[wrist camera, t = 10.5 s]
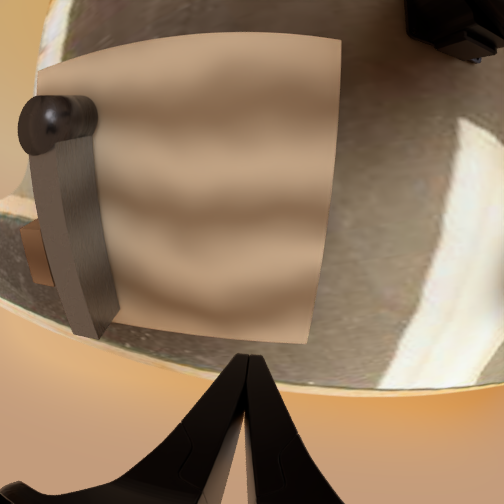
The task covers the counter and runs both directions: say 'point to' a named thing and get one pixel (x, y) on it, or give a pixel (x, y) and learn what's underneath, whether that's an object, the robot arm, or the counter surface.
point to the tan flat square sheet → (213, 176)
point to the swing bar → (70, 207)
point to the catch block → (36, 254)
